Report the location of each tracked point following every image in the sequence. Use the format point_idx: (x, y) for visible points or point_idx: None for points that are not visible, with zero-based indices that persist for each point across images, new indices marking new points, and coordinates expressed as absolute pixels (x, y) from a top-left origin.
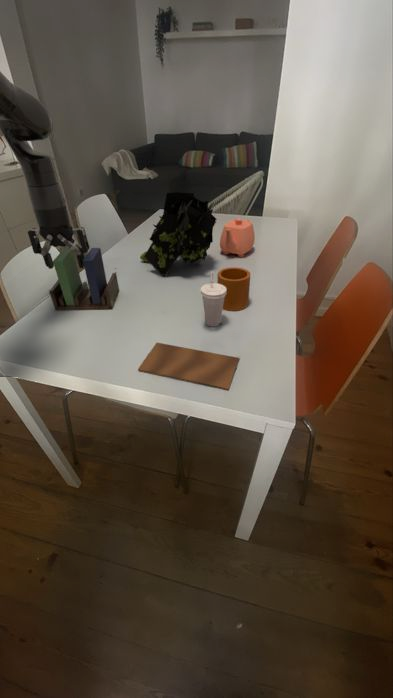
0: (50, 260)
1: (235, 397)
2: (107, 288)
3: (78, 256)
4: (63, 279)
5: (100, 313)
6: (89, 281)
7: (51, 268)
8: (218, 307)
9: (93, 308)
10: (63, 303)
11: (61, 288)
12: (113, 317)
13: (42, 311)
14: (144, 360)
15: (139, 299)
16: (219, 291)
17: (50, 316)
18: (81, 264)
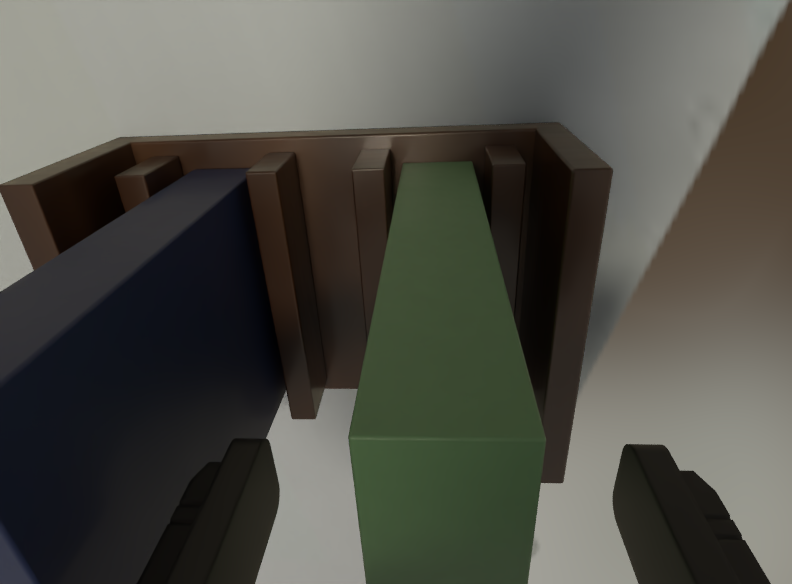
0: (654, 557)
1: None
2: (26, 221)
3: (174, 580)
4: (433, 260)
5: (180, 76)
6: (140, 251)
7: (627, 445)
8: None
9: (250, 134)
10: (488, 152)
11: (483, 214)
12: (47, 10)
13: (669, 108)
14: None
15: (5, 272)
16: None
17: (581, 22)
18: (219, 475)
